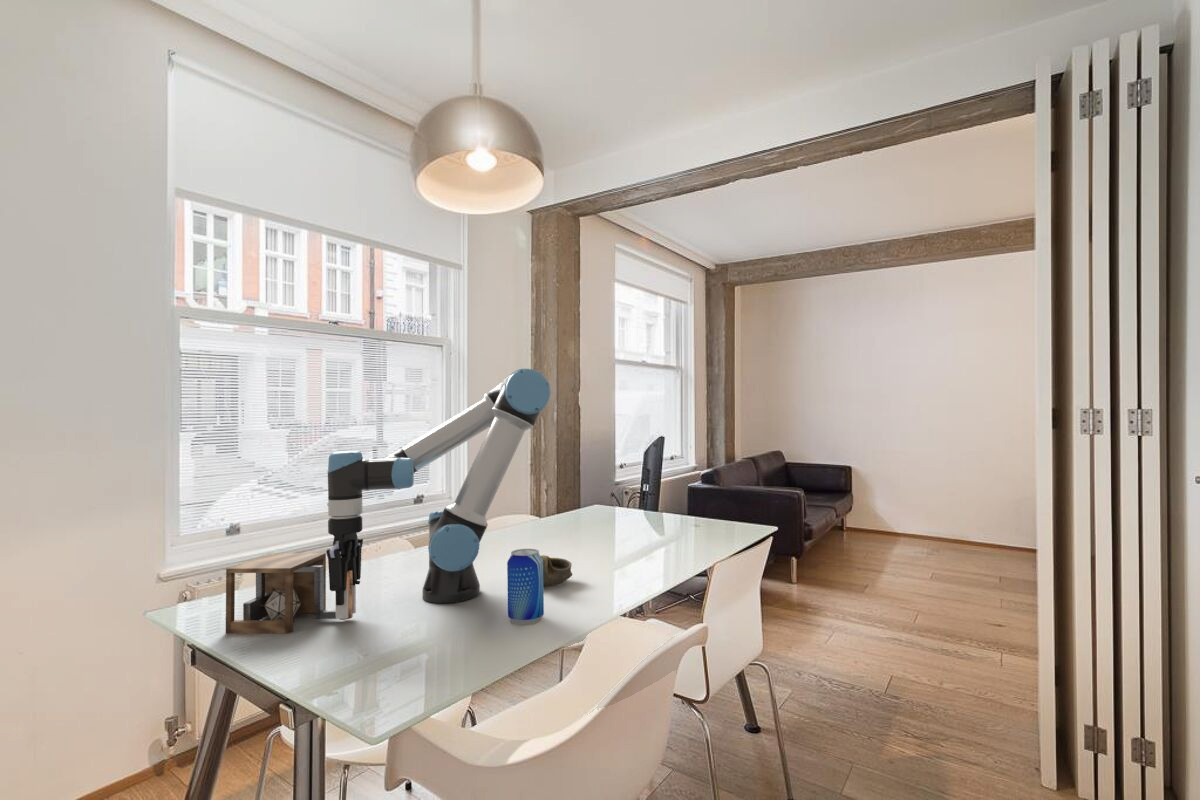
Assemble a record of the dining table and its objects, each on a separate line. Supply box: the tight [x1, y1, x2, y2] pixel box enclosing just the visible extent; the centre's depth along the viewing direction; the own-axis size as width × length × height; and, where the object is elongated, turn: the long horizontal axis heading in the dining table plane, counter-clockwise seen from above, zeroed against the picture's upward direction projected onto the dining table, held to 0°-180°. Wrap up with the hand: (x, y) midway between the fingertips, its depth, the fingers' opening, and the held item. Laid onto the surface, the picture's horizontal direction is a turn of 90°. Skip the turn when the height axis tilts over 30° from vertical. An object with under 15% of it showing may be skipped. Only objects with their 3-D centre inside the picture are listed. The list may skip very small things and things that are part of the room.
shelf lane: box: [225, 552, 327, 634], centre depth 139 cm, size 15×15×14 cm
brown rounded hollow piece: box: [540, 554, 573, 587], centre depth 166 cm, size 14×18×10 cm
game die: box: [260, 586, 304, 623], centre depth 139 cm, size 9×8×10 cm
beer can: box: [506, 548, 545, 626], centre depth 137 cm, size 8×8×16 cm
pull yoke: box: [242, 565, 354, 621], centre depth 139 cm, size 23×10×12 cm, turn 87°
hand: (345, 615), depth 138 cm, fingers closed on pull yoke, 3 cm apart
